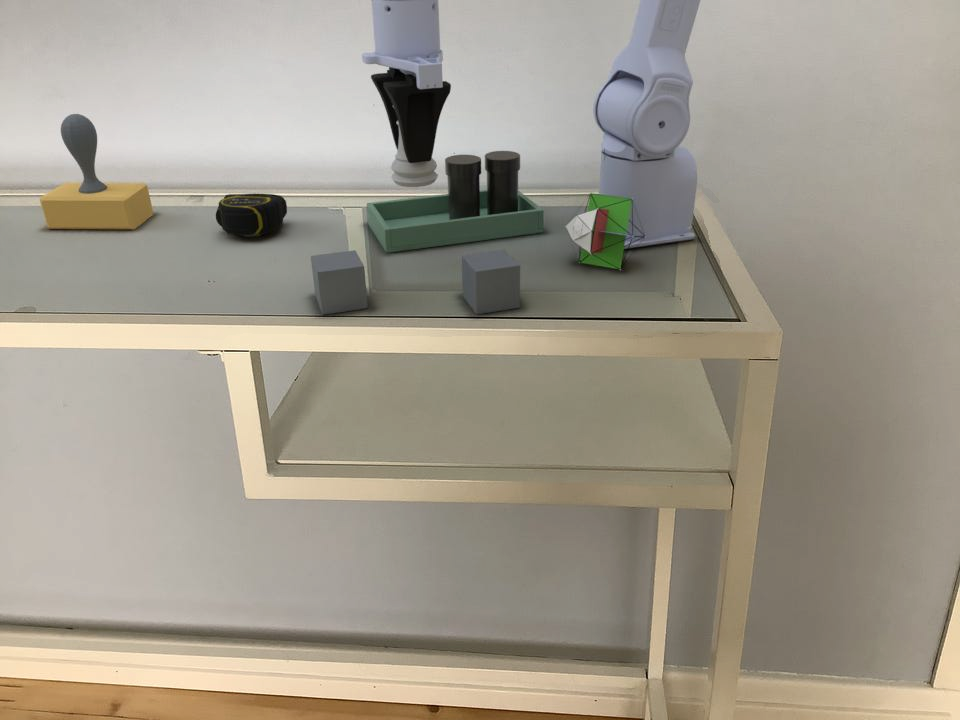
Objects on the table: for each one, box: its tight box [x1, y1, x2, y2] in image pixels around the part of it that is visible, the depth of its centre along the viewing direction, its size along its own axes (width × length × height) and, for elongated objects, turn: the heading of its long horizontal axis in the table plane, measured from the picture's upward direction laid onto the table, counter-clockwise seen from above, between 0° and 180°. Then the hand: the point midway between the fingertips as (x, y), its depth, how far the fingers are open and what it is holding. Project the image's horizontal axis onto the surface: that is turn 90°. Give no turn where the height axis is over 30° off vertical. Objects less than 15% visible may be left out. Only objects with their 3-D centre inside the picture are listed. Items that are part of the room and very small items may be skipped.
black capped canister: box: [484, 150, 521, 215], centre depth 88 cm, size 4×4×7 cm
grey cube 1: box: [310, 249, 369, 316], centre depth 71 cm, size 4×4×4 cm
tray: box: [366, 188, 545, 254], centre depth 88 cm, size 17×9×2 cm, turn 108°
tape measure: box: [215, 193, 288, 238], centre depth 88 cm, size 7×7×4 cm
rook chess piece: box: [390, 106, 439, 188], centre depth 75 cm, size 4×4×8 cm
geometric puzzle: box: [564, 192, 646, 271], centre depth 78 cm, size 7×7×8 cm
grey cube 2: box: [461, 249, 521, 315], centre depth 71 cm, size 4×4×4 cm
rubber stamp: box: [39, 113, 154, 230], centre depth 90 cm, size 10×6×12 cm, turn 86°
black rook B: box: [444, 154, 482, 220], centre depth 87 cm, size 4×4×7 cm
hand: (413, 156), depth 76 cm, fingers closed on rook chess piece, 3 cm apart
